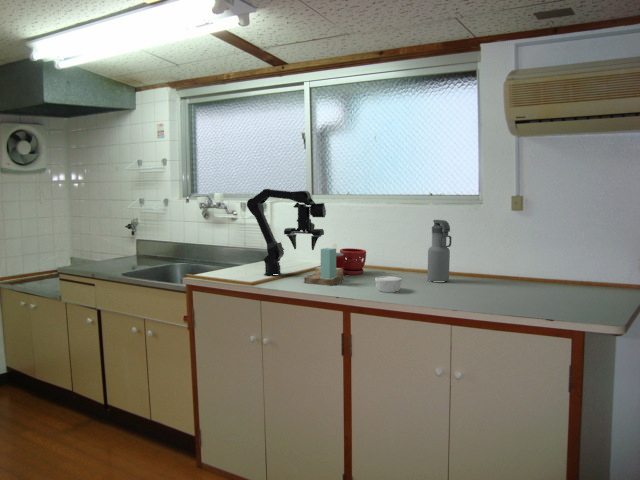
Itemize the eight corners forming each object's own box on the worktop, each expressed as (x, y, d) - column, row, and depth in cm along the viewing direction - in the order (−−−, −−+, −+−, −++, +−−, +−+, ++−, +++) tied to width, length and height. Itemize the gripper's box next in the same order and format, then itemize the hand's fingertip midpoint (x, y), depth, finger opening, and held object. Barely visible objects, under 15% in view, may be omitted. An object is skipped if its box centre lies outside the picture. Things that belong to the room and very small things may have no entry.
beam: (315, 274, 250) (315, 267, 249) (317, 272, 253) (317, 266, 252) (339, 275, 245) (339, 269, 245) (341, 274, 248) (341, 268, 248)
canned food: (343, 275, 261) (344, 252, 260) (343, 278, 254) (343, 255, 252) (328, 274, 262) (328, 252, 261) (326, 277, 254) (327, 254, 253)
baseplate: (304, 283, 241) (304, 277, 240) (316, 277, 254) (316, 272, 253) (333, 285, 235) (333, 279, 235) (344, 280, 248) (344, 274, 248)
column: (320, 277, 240) (320, 248, 239) (327, 276, 244) (327, 247, 243) (329, 278, 237) (329, 249, 236) (336, 277, 241) (336, 248, 240)
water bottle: (454, 281, 244) (455, 220, 241) (436, 283, 240) (438, 221, 236) (439, 278, 253) (441, 219, 250) (423, 279, 249) (424, 219, 245)
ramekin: (386, 286, 233) (386, 274, 233) (406, 290, 226) (407, 278, 225) (369, 290, 226) (369, 278, 225) (390, 294, 218) (390, 281, 217)
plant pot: (348, 276, 257) (349, 252, 256) (334, 272, 269) (334, 248, 267) (371, 274, 264) (371, 250, 262) (356, 270, 275) (356, 247, 274)
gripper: (328, 216, 258) (328, 248, 260) (293, 215, 265) (293, 246, 267) (319, 218, 248) (319, 251, 250) (283, 217, 255) (283, 249, 257)
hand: (303, 249), depth 256 cm, fingers open, 9 cm apart
